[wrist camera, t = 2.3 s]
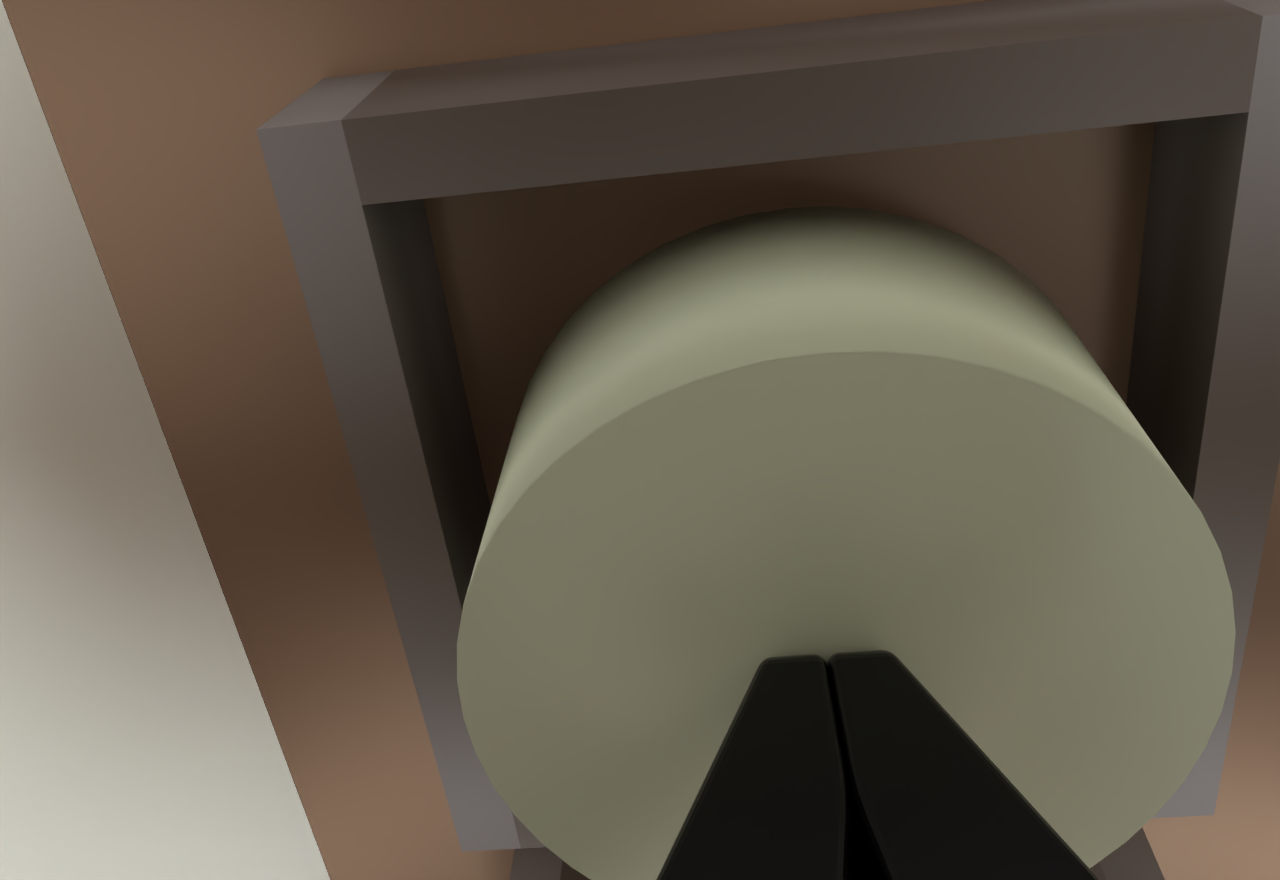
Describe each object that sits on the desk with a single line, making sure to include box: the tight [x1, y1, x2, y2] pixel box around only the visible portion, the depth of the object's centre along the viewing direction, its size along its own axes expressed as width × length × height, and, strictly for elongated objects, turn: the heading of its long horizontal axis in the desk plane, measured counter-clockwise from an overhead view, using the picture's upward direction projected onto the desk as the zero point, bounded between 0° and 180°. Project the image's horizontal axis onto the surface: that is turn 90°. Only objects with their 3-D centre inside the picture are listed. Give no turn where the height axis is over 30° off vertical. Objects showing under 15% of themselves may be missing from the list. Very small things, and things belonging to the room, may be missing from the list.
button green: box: [457, 206, 1236, 880], centre depth 9 cm, size 5×5×2 cm
